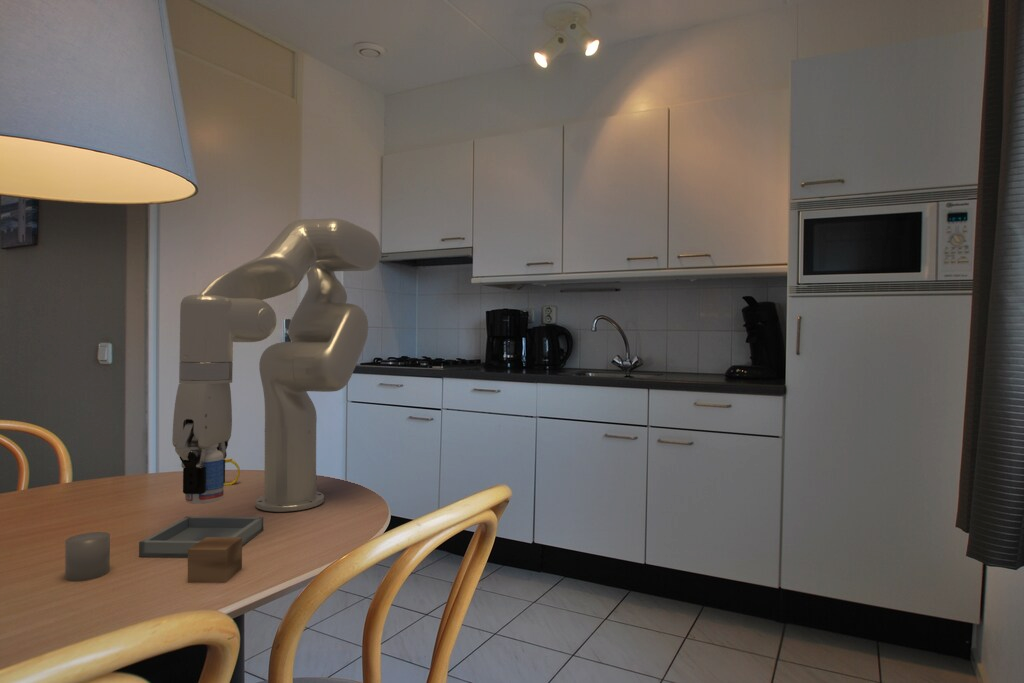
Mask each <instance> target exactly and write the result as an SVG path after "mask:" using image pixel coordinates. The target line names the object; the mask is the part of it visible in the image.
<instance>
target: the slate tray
mask: <svg viewBox="0 0 1024 683" xmlns="http://www.w3.org/2000/svg"><path fill="white" fill-rule="evenodd" d="M262 532H264V517H263V516H262V517H261V516H258V517H257V516H251V517H250V516H185V517H183V518H181V519H180V520H178V521H175V522H173V523H172V524H170V525H168V526H166V527H164V528H163V529H161V530H159V531H158V532H155V533H153V534H151V535H150V536H148V537H146V538H144V539H142V540H141V541H139V542H138V557H139V558H182V559H183V558H185V559H188V549H189V548H191V547H192V546H194V545H195V544H197V543H198V542H200V541H202V540H203V539H205V538H206V537H242V547H243V546H245V545H247V544H248V543H249V542H250V541H251V540H253V539H254V538H255V537H257V536H258V535H259V534H261V533H262Z"/></svg>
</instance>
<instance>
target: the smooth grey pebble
mask: <svg viewBox="0 0 1024 683" xmlns="http://www.w3.org/2000/svg"><path fill="white" fill-rule="evenodd" d="M64 546H65V549H64V550H65V554H64V555H65V556H64V557H65V561H64V563H65V566H64V568H65V569H64V570H65V571H64V577H65V578H64V579H65V580H66V581H67V582H75V583H76V582H86V581H90V580H94V579H98V578H103V576H106V575H108V574H109V573H110V571H111V569H110V567H111V565H110V563H111V561H110V560H111V558H110V557H111V534H110V533H109V532H105V531H104V532H103V531H95V532H92V531H91V532H86V533H85V532H84V533H80V534H76V535H74V536H73V535H72V536H71V537H69V538H67V539H66V540H65V545H64Z"/></svg>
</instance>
